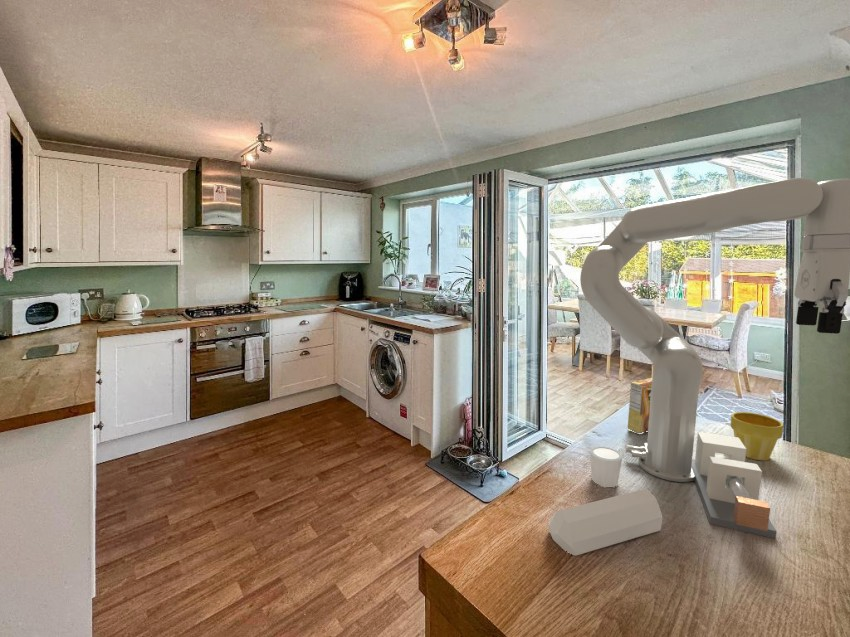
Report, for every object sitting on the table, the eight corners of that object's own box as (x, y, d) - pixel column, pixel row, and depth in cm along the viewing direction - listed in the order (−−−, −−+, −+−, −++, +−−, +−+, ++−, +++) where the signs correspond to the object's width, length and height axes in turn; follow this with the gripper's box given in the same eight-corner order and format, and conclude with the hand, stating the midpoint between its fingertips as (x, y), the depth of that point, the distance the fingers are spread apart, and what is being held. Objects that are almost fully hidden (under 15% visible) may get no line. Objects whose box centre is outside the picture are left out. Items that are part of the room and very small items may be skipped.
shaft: (767, 531, 69) (770, 508, 68) (736, 524, 71) (739, 502, 70) (735, 474, 87) (737, 455, 86) (711, 470, 89) (713, 452, 88)
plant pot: (736, 441, 110) (740, 408, 109) (784, 456, 102) (789, 420, 100) (721, 452, 104) (724, 417, 103) (770, 468, 96) (775, 431, 94)
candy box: (645, 424, 122) (649, 377, 120) (659, 430, 118) (663, 381, 116) (626, 430, 118) (629, 381, 116) (639, 436, 114) (643, 385, 112)
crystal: (572, 549, 66) (679, 518, 73) (550, 508, 71) (652, 482, 78) (557, 567, 70) (659, 536, 77) (537, 527, 75) (635, 501, 83)
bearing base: (775, 538, 73) (781, 491, 71) (710, 523, 77) (714, 479, 75) (737, 472, 94) (742, 435, 93) (688, 464, 99) (691, 428, 97)
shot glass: (583, 473, 95) (584, 446, 94) (610, 472, 96) (612, 445, 95) (598, 490, 88) (599, 461, 87) (627, 488, 89) (629, 459, 88)
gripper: (786, 245, 88) (777, 321, 90) (824, 244, 72) (811, 335, 75) (831, 245, 84) (820, 323, 87) (880, 242, 69) (865, 338, 72)
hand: (816, 328), depth 81 cm, fingers open, 9 cm apart
